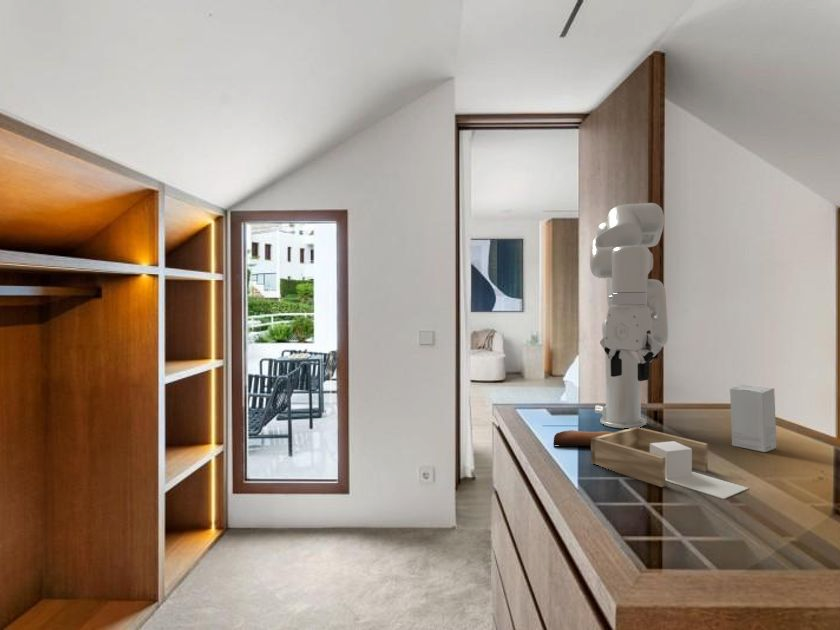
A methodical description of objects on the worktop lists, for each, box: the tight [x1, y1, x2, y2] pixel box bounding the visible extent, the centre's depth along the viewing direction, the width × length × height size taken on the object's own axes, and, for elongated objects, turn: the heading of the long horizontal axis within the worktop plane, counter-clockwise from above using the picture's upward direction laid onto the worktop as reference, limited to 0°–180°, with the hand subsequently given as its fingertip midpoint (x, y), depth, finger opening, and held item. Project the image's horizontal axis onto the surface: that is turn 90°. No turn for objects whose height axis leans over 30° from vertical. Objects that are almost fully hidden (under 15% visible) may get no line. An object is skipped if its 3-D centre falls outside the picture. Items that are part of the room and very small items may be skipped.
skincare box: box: [729, 384, 777, 453], centre depth 141 cm, size 8×6×15 cm
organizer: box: [590, 427, 709, 488], centre depth 129 cm, size 16×18×6 cm
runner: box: [665, 471, 749, 500], centre depth 123 cm, size 26×9×1 cm, turn 33°
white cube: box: [650, 441, 693, 479], centre depth 124 cm, size 6×6×6 cm
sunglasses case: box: [552, 429, 615, 447], centre depth 147 cm, size 18×7×7 cm
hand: (629, 377), depth 132 cm, fingers open, 6 cm apart
